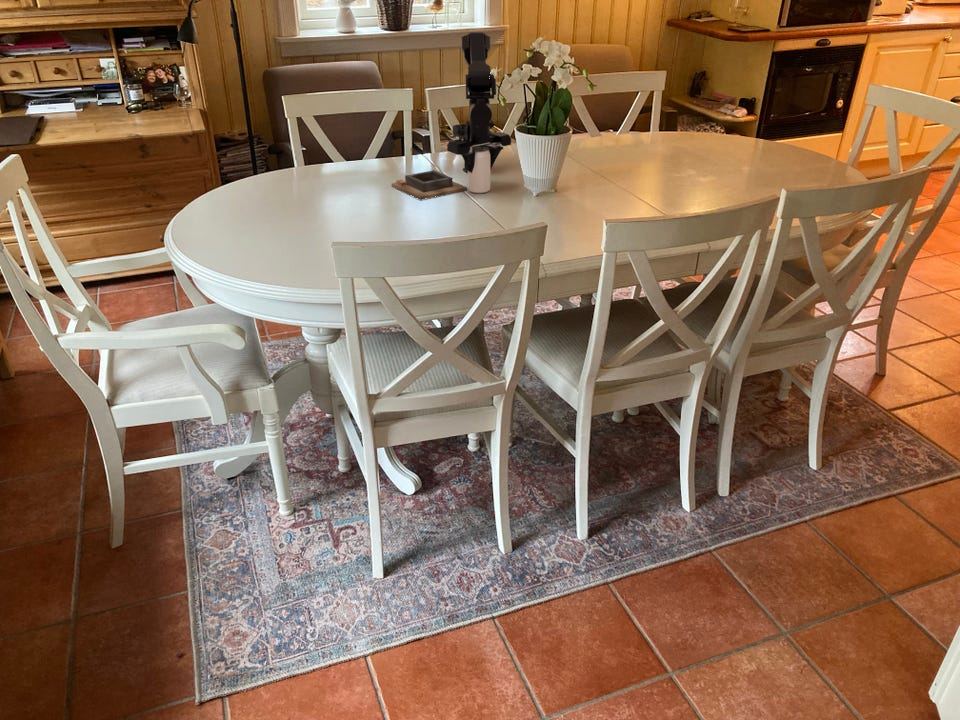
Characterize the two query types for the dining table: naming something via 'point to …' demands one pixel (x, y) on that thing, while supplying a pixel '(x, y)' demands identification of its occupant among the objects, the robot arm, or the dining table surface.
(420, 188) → the socket block
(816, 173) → the dining table surface
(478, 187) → the can
